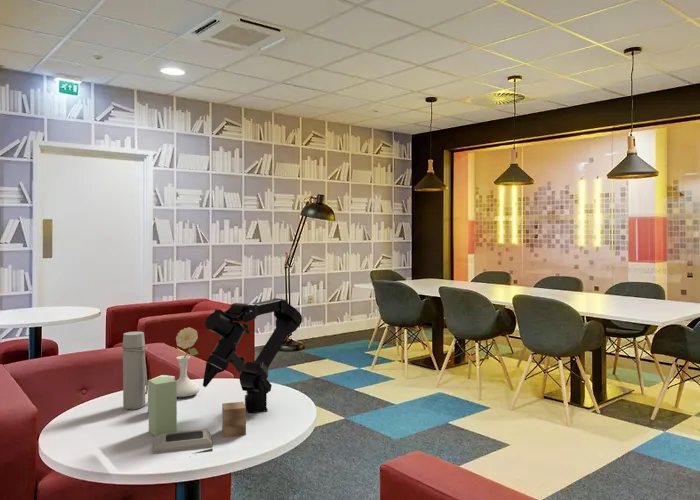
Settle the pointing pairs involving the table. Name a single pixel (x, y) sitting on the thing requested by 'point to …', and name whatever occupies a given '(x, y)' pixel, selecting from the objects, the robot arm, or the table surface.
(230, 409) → the walnut block
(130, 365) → the water bottle
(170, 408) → the sage key
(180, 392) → the flower in vase
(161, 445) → the grey tray
